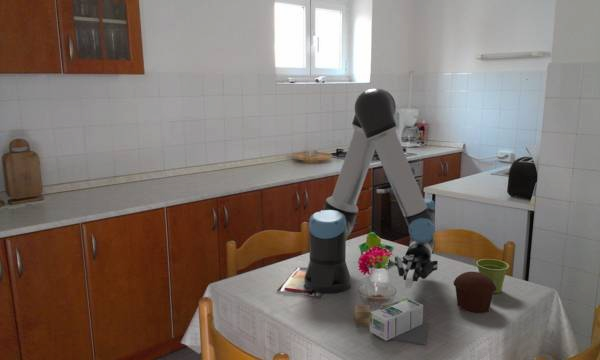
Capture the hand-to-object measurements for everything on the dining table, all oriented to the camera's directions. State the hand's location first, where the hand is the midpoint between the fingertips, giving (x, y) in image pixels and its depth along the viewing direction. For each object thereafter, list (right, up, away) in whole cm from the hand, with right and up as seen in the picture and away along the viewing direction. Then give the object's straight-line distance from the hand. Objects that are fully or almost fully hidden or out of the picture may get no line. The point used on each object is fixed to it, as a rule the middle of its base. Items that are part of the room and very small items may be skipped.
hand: (408, 282), depth 130 cm
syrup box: (+2, -8, +1) cm, 8 cm away
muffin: (+21, -9, +10) cm, 25 cm away
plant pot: (+31, -7, +22) cm, 38 cm away
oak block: (-12, -11, +1) cm, 17 cm away
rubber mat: (-2, -12, -3) cm, 12 cm away
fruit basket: (-1, -2, +50) cm, 50 cm away
